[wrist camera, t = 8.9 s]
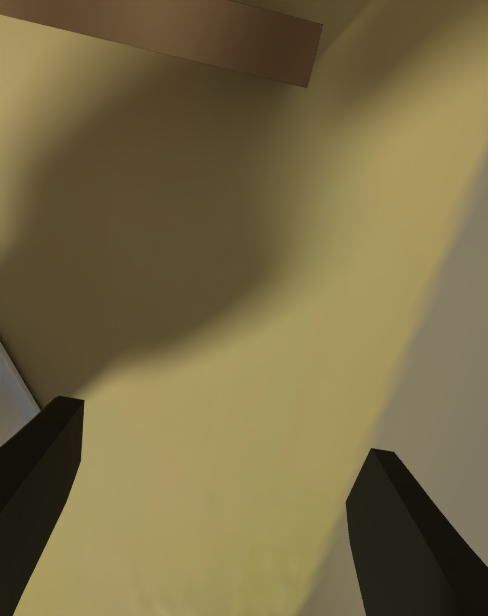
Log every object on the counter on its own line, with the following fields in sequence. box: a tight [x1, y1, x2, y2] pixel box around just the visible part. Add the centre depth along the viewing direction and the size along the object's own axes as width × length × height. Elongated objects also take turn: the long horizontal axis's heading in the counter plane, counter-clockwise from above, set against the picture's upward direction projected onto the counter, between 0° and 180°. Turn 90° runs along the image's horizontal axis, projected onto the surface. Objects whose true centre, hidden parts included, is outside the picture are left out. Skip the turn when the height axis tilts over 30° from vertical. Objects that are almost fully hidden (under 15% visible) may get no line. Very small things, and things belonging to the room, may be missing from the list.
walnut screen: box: [0, 0, 323, 88], centre depth 13 cm, size 14×2×4 cm, turn 78°
